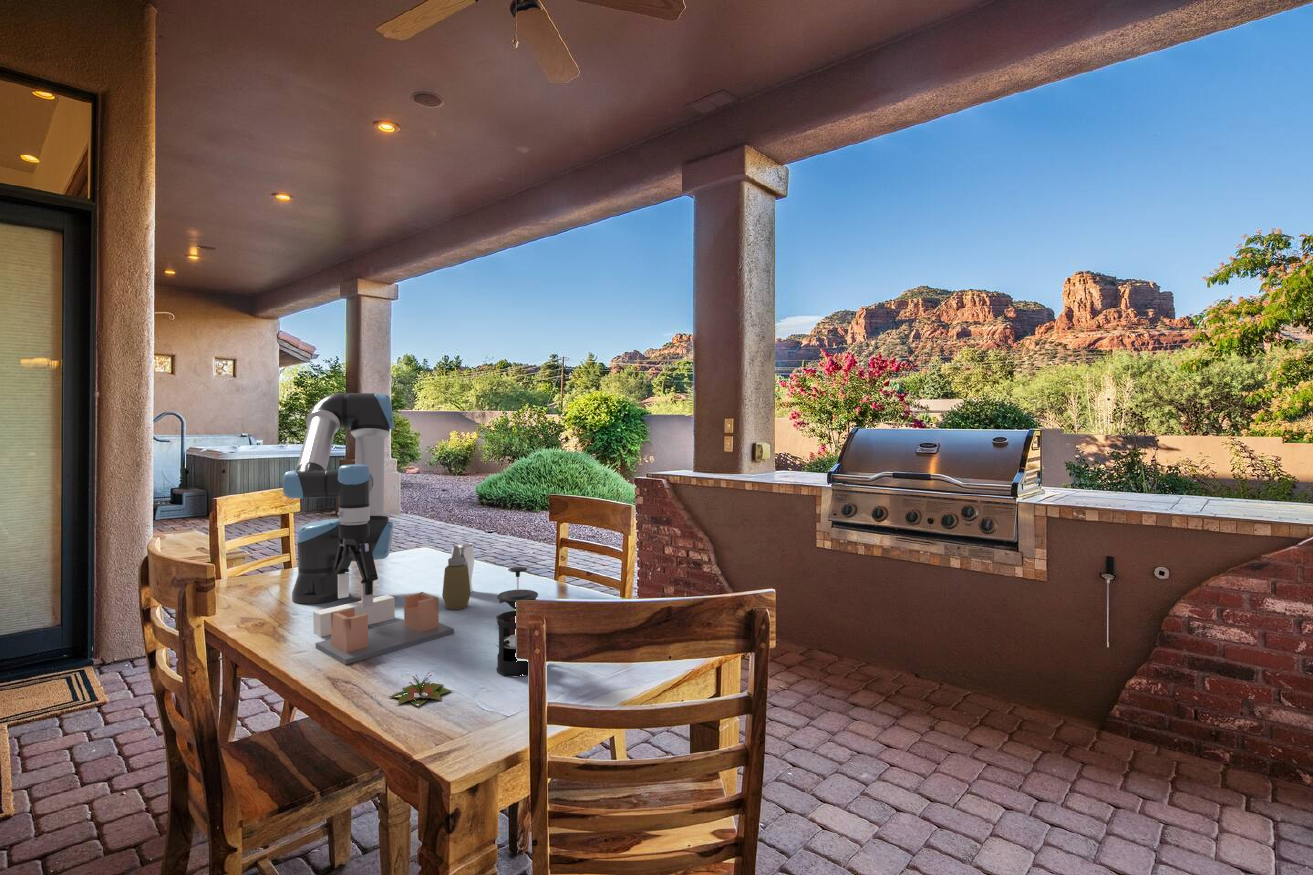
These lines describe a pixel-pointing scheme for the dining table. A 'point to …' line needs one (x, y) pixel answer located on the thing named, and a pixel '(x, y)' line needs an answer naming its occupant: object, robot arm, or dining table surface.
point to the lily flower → (421, 691)
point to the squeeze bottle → (456, 582)
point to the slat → (376, 613)
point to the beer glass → (467, 558)
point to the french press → (507, 641)
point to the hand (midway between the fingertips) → (355, 601)
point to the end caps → (383, 630)
